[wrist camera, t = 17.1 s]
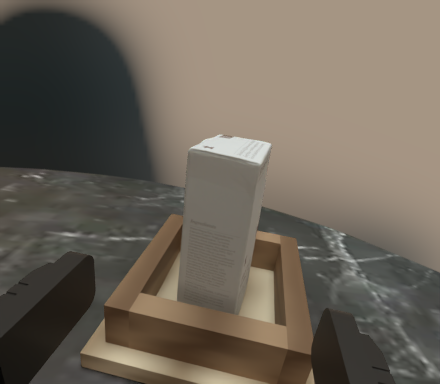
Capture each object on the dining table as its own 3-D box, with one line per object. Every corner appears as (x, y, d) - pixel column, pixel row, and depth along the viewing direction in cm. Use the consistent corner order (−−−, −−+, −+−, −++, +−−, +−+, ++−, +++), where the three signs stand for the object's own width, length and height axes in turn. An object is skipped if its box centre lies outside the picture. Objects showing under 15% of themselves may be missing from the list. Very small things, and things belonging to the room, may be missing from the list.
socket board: (81, 366, 17) (76, 314, 15) (163, 242, 29) (165, 207, 28) (317, 429, 15) (340, 379, 14) (295, 270, 28) (305, 235, 26)
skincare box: (232, 336, 18) (267, 164, 14) (170, 315, 19) (185, 147, 15) (249, 279, 24) (278, 142, 19) (200, 264, 25) (217, 131, 20)
